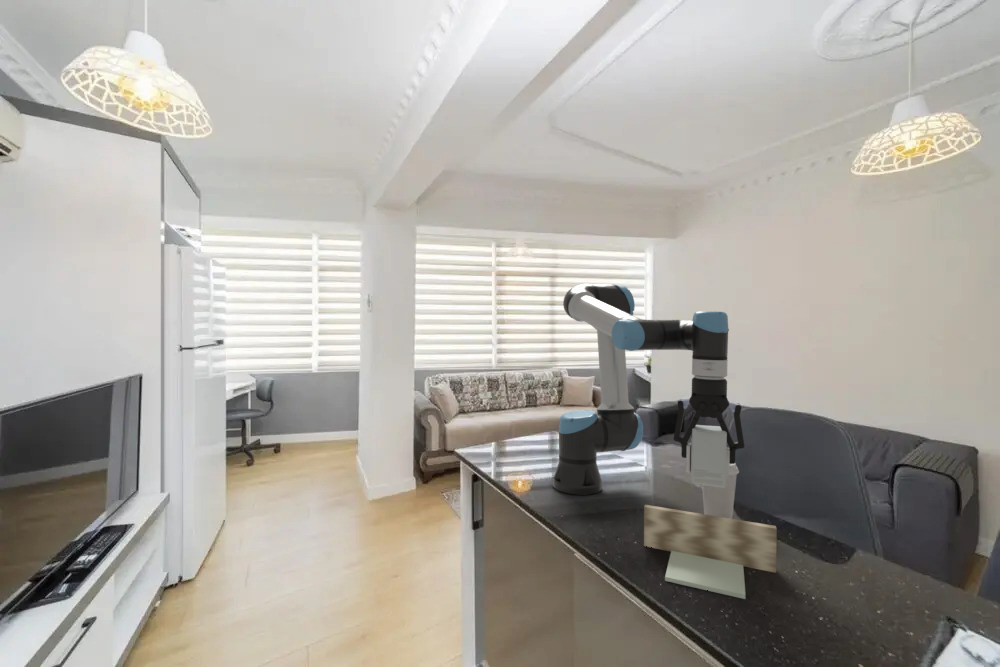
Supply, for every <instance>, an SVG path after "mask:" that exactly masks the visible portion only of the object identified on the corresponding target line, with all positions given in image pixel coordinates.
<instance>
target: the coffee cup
mask: <svg viewBox="0 0 1000 667" xmlns="http://www.w3.org/2000/svg"><path fill="white" fill-rule="evenodd" d="M739 473H740V470H739V468H738V466H737V463H736V462H735V463H734V464H730V463H729V479H726V488H720V487H712V486H704V485H701V488H702V500H703V501H702V502H703V503H702V504H703V514H706V515H712V516H718V517H724V518H730V519H733V513H734V503H735V494H736V486H737V484H736V483H737V475H738V474H739Z"/></svg>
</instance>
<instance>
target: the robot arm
mask: <svg viewBox="0 0 1000 667" xmlns="http://www.w3.org/2000/svg"><path fill="white" fill-rule="evenodd" d="M562 302H563V303H562V304H563V305H562V306H563V309H564V312H565V313H566V315H568V317H570V318H571V319H573V320H574V321H576V322H585V323H587V324H588V325H590V326H592V327H593V329H595V330H596V335H597V347H598V348H597V349H598V351H597V352H598V364H599V366H598V367H599V370H598V371H599V384H600V386H599V387H600V400H601V403H600V404H599V405H598V407H597V408H596V410H597V411H594V410H591V409H590V410H589V409H584V410H582V409H579V410H572V411H568V412H565V413H564V414H562V415H561V416H560V418H559V423H558V463H557V466H556V469H555V471H554V475H553V478H552V486H553V488H554V489H555V490H557V492H558V491H559V492H561V493H565V494H568V495H577V496H588V495H595V494H597V493H600V492H601V491H603V490H602V489H603V480H602V477H601V473H600V470H599V467H598V462H597V453H608V452H617V451H620V452H626V451H627V450H628V451H629V450H633V449H636V448H637V447H638V446H639V445H640V444H641V441H642V439H643V436H644V424H643V421H642V418H641V416H640V415H639V414H638V413H636V412H635V408H634V406H633V405H632V404H630V402H629V390H628V389H629V388H628V387H629V386H628V373H627V359H626V358H627V356H626V351H630V352H632V351H656V350H657V351H660V350H661V351H663V350H664V351H674V350H675V351H676V350H678V351H679V350H681V351H692V356H691V357H692V360H691V363H692V364H691V366H692V367H691V374H692V375H693V377H692V379H691V395H690V398H689V399H681V398H680V399H679V400H678V401H677V408H678V413H677V418H676V423H675V429H674V434H673V440H674V441H675V442H678V443H680V446H681V455H680V456H681V458H683V459H685V460H686V462H685V464H686V467H685V468H686V469H685V473H686V474H690V461H691V442H689V440H690V439H691V434H692V429H693V428H695V426H696V425H698V424H697V423H698V421H699V420H700V418H711V419H716V420H717V422H718V423H719V426H720V427H721V429H722V431H726V433H727V446H728V447H727V452H726V479H729V463H730V464H734V463H735V464H736V451H737V450H739V449H745V442H744V441H745V440H744V435H743V429H742V421H741V416H740V415H741V412H742V405H741V403H739V402H738V403H733V402H729V401H730V400H728V397H727V396H728V394H727V393H728V380H727V379H726V377H727V376H728V348H729V345H728V344H729V331H730V328H729V321H728V320H729V319H728V318H729V317H728V314H727V313H726V312H725V311H696V312H694V313H693V315H692V319H691V320H690V319H643V318H642V319H641V318H639V317H636V316H635V315H634V311H635V309H636V308H635V305H636V304H635V299H634V295H633V294H632V292H631V290H630V289H629V288H628V287H627V286H625V285H621V284H620V285H619V284H614V283H612V284H603V283H602V284H601V283H600V284H598V283H596V284H595V283H581V284H577V285H574V286H573V287H571V288H570V289H568V291H567V292H566V294H564V297H563V301H562ZM689 405H690V406H691V408H692V409H693V410H694V412H695V413H694V415H693V417H692V418H691V421H690V423H689V425H688V426H687V429H686V432H685V433H684V436H681V433H682V432H681V431H682V427H683V423H684V417H685V416H684V415H685V412H686V409H688V406H689ZM728 408H729V409H730V412H731V413H733V419H734V420H733V421H734V426H735V432H736V437H737V441H736V442H735V441H734V439H733V436H732V435H731V432H730V429H729V427H728V425H727V422H726V420H725V418H724V416H723V415H724V414H723V413H724V412H725V411H726V410H727V409H728Z"/></svg>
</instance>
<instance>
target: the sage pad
mask: <svg viewBox="0 0 1000 667" xmlns="http://www.w3.org/2000/svg"><path fill="white" fill-rule="evenodd" d="M744 572H745V571H744V566H743V565H740V564H735V563H730V562H726V561H721V560H716V559H711V558H706V557H701V556H696V555H691V554H686V553H681V552H676V551H670V555H669V559H668V562H667V568H666V572H665V576H664V581H665V582H670V583H671V584H672V583H673V584H677V585H682V586H685V587H691V588H696V589H699V590H702V591H703V590H704V591H707V590H708V592H712V593H717V594H721V595H725V596H730V597H734V598H738V599H741V600H742V599H743V600H746V584H745V573H744Z"/></svg>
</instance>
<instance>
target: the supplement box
mask: <svg viewBox="0 0 1000 667" xmlns="http://www.w3.org/2000/svg"><path fill="white" fill-rule="evenodd" d="M690 443H691V461H690V473H689V476H690V482H691V484H692V485H696V486H702V485H704V486H712V487H720V488H726V452H727V448H728V447H727V446H728V443H727V433H726V431H722V429H721V427H720V425H719V426H718V425H704V424H696V426H695V428H693V429H692V434H691V436H690Z"/></svg>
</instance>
